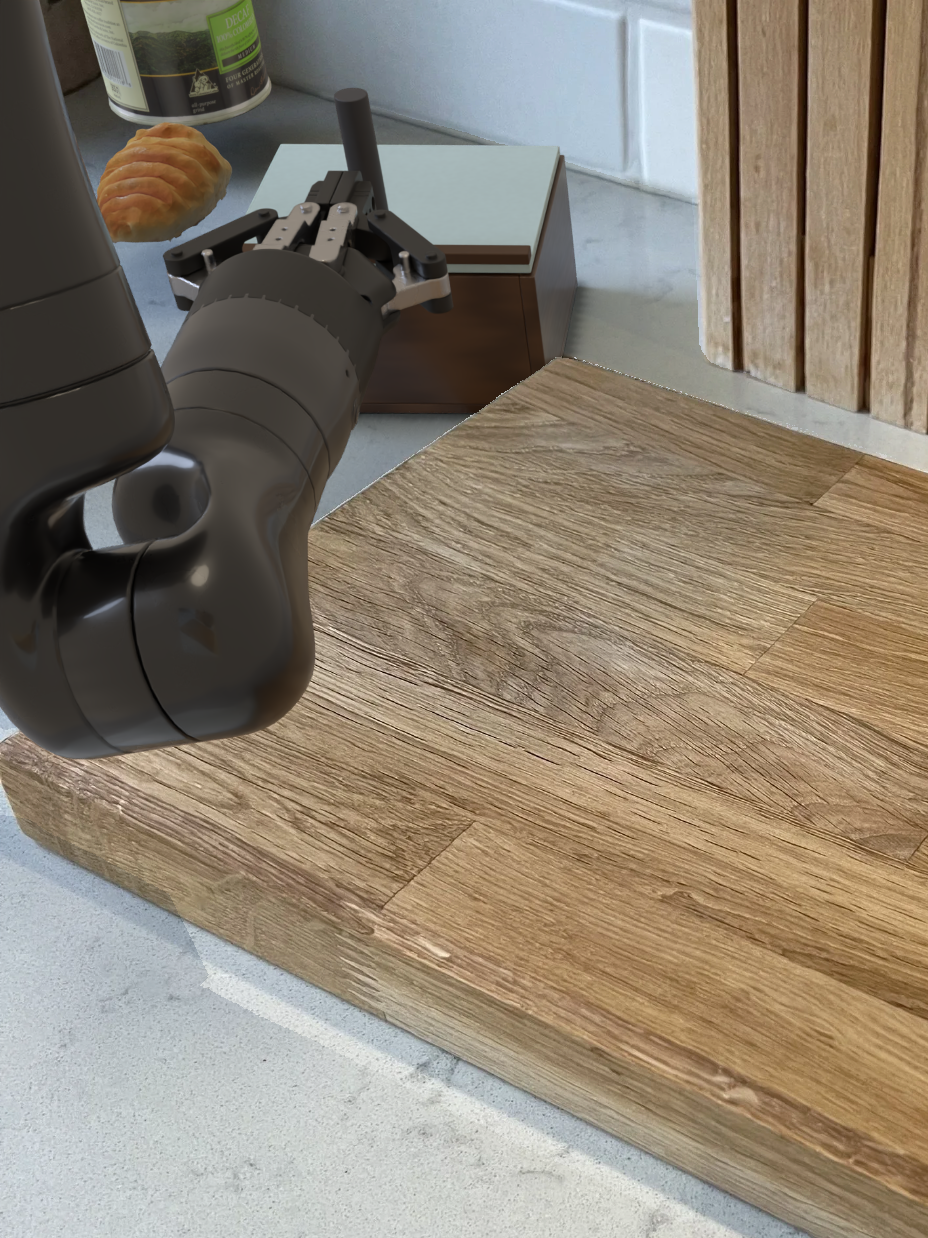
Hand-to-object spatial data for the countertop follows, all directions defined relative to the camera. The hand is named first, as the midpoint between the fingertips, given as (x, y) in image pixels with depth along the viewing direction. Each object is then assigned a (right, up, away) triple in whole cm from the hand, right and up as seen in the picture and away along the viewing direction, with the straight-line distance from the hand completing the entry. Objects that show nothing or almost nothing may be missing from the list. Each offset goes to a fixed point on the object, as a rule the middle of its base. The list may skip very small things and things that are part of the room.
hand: (348, 189), depth 83 cm
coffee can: (-18, +17, +30) cm, 39 cm away
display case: (0, -3, +16) cm, 16 cm away
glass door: (0, +3, +10) cm, 10 cm away
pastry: (-16, +5, +19) cm, 25 cm away
